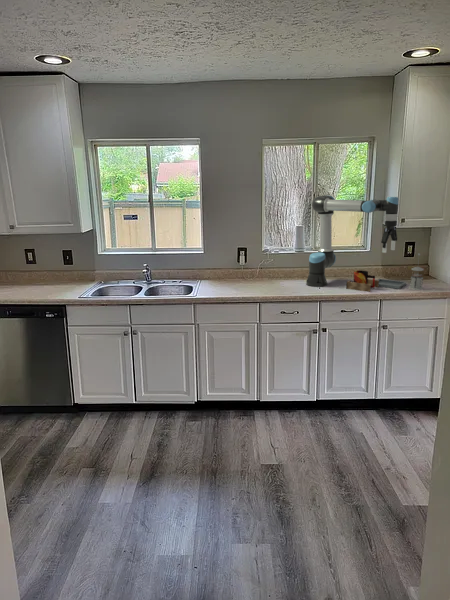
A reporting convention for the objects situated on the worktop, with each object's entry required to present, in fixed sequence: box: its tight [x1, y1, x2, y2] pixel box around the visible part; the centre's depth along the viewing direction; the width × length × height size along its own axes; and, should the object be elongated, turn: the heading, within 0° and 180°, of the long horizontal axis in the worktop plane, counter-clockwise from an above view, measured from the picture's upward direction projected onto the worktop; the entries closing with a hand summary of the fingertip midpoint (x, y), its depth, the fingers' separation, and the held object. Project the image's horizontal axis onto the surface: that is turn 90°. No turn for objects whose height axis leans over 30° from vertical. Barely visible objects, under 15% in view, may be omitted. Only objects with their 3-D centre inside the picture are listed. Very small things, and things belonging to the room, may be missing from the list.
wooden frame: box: [345, 278, 379, 293], centre depth 308 cm, size 17×16×5 cm
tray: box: [377, 278, 407, 290], centre depth 314 cm, size 20×16×2 cm
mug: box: [353, 269, 376, 289], centre depth 307 cm, size 10×14×12 cm
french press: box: [408, 252, 425, 291], centre depth 299 cm, size 10×12×25 cm
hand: (388, 251), depth 296 cm, fingers open, 13 cm apart
